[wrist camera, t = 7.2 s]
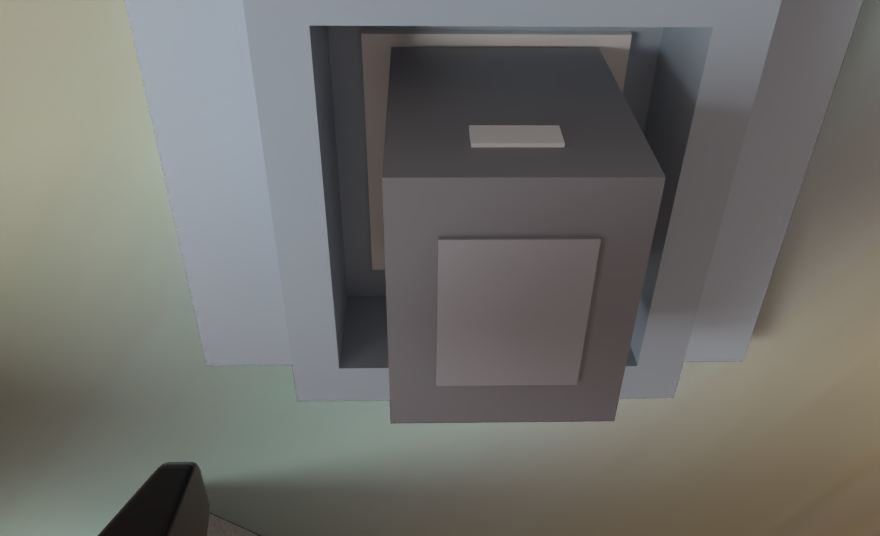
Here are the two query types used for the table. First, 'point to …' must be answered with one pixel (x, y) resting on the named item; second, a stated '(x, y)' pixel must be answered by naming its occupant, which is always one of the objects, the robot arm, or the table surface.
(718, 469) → the table surface
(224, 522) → the white box wooden trim
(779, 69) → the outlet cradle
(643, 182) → the brick
